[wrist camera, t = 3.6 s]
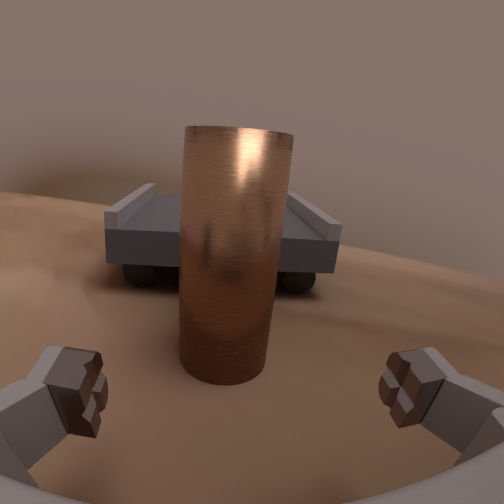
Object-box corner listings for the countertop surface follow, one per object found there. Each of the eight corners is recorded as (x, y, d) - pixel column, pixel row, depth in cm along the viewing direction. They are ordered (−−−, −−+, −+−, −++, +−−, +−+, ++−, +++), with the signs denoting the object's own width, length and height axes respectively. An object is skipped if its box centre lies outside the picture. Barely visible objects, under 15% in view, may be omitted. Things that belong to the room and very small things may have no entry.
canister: (259, 334, 23) (281, 136, 19) (271, 384, 18) (306, 135, 14) (183, 332, 23) (189, 129, 18) (177, 383, 17) (180, 124, 13)
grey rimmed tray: (287, 243, 46) (293, 192, 44) (327, 301, 29) (342, 224, 27) (146, 235, 43) (147, 183, 41) (109, 293, 26) (104, 211, 24)
